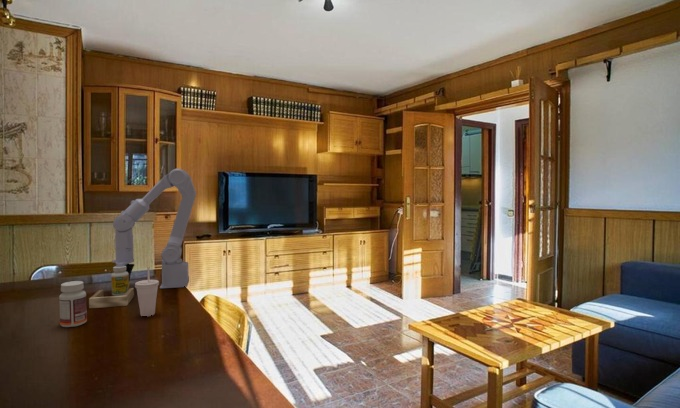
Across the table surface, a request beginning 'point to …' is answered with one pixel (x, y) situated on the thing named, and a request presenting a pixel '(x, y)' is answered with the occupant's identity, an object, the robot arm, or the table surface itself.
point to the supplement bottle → (119, 281)
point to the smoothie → (147, 295)
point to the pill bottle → (72, 304)
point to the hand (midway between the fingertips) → (125, 284)
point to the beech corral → (110, 299)
